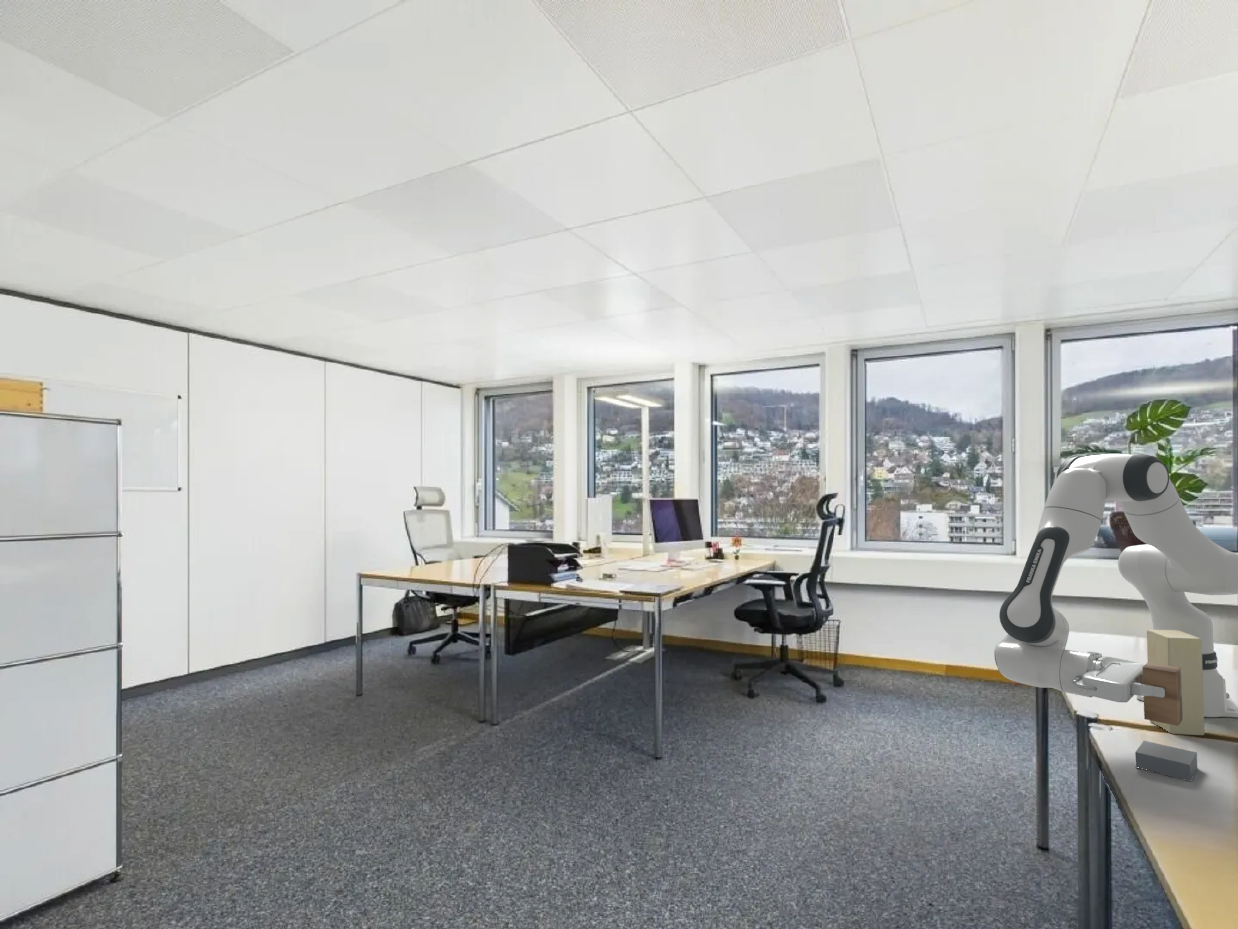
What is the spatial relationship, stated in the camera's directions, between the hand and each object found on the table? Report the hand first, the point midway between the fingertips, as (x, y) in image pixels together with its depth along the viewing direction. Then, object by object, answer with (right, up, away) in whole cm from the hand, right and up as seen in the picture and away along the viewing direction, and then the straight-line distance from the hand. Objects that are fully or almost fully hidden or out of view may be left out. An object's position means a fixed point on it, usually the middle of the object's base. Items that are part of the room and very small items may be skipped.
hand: (1168, 688), depth 125 cm
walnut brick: (-1, -6, 0) cm, 6 cm away
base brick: (0, -15, 0) cm, 15 cm away
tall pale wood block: (+19, -16, +20) cm, 31 cm away
